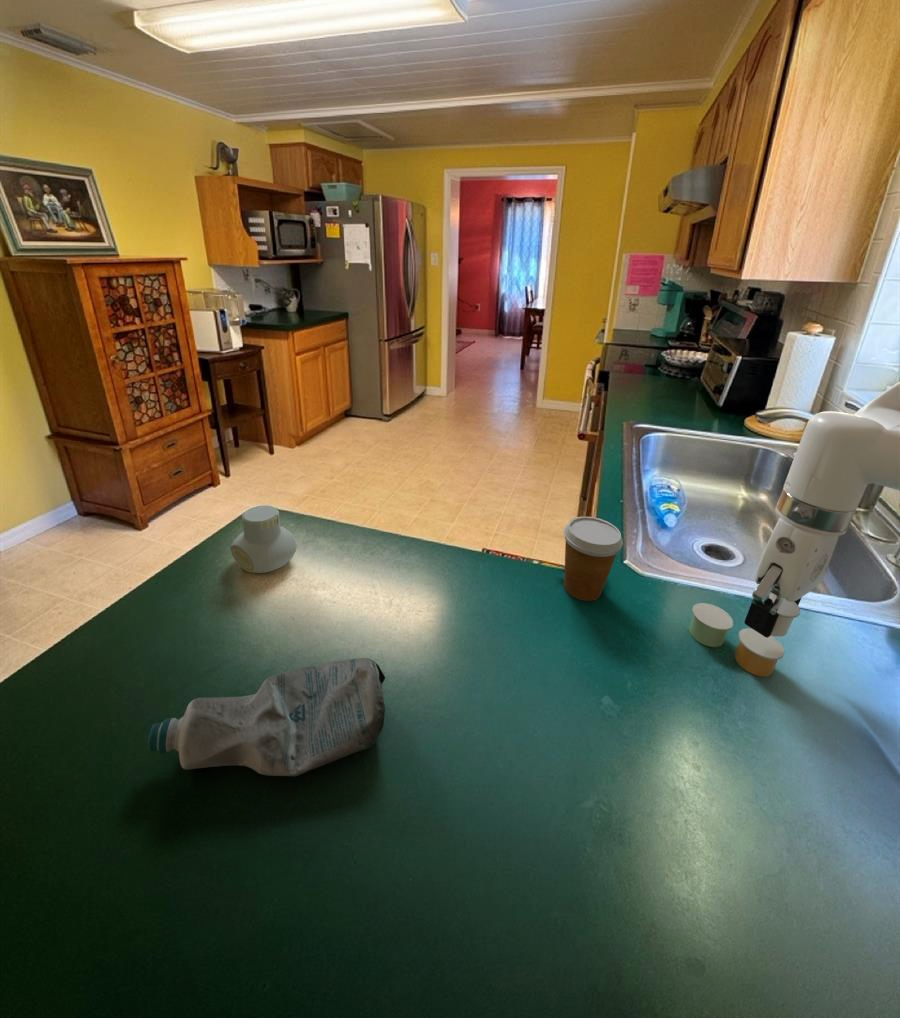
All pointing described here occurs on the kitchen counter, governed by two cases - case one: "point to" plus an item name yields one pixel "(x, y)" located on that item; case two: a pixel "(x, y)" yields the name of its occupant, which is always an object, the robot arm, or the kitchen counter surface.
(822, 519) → the robot arm
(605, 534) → the disposable coffee cup
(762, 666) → the caramel pod
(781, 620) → the white pod
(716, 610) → the cylinder
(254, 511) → the air freshener
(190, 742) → the detergent
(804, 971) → the kitchen counter surface
